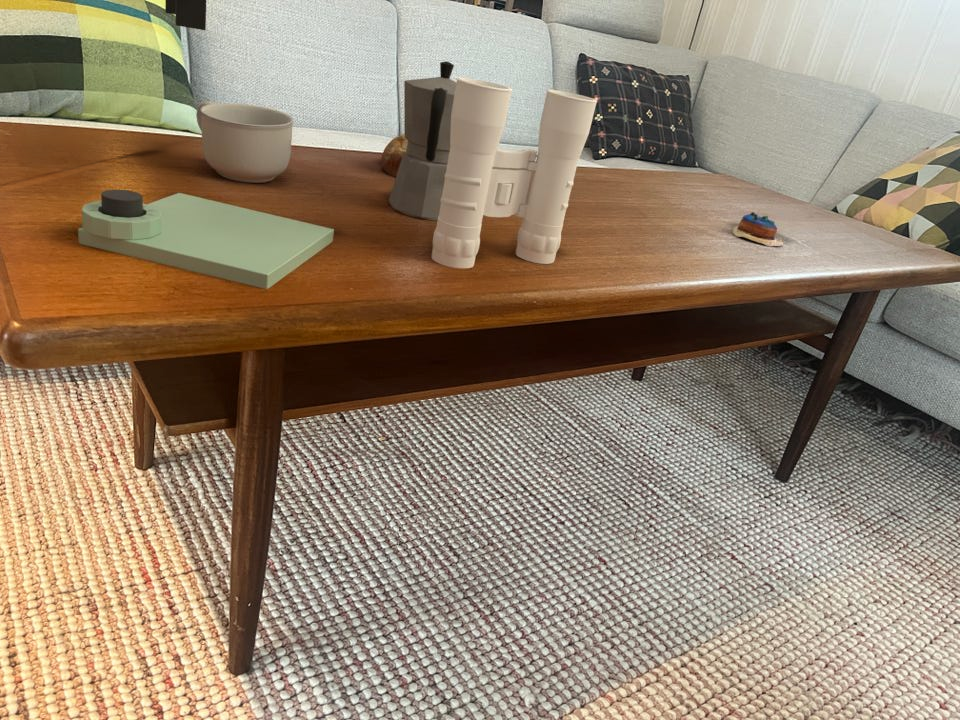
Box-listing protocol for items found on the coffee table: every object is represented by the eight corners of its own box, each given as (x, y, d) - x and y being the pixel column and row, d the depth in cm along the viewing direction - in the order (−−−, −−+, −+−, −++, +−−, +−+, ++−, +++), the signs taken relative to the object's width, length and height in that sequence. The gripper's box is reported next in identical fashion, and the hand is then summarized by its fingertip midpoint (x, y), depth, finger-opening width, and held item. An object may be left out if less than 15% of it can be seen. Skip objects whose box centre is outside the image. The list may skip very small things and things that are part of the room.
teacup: (305, 187, 93) (311, 123, 89) (227, 190, 85) (230, 120, 81) (246, 158, 100) (249, 98, 97) (170, 159, 93) (170, 93, 89)
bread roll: (417, 189, 118) (407, 139, 117) (467, 178, 112) (457, 125, 110) (375, 194, 110) (364, 140, 109) (426, 182, 104) (415, 125, 103)
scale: (67, 244, 62) (65, 210, 60) (173, 204, 77) (174, 176, 75) (264, 292, 60) (266, 258, 59) (332, 242, 75) (335, 214, 74)
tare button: (93, 214, 62) (92, 194, 61) (116, 206, 65) (116, 187, 64) (128, 222, 62) (128, 202, 61) (150, 214, 64) (150, 195, 64)
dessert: (724, 228, 115) (745, 198, 115) (728, 247, 121) (749, 218, 121) (770, 248, 111) (792, 217, 111) (772, 267, 117) (793, 237, 117)
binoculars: (537, 248, 88) (573, 92, 80) (567, 264, 84) (607, 102, 77) (417, 253, 77) (445, 75, 70) (446, 271, 74) (479, 85, 66)
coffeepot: (393, 191, 99) (413, 50, 92) (461, 204, 100) (486, 65, 92) (378, 221, 85) (400, 58, 78) (457, 235, 86) (486, 75, 78)
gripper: (251, -234, 60) (238, 41, 69) (214, -194, 80) (207, 16, 89) (152, -268, 57) (152, 26, 66) (138, -217, 76) (139, 4, 85)
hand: (184, 21), depth 77 cm, fingers open, 13 cm apart
